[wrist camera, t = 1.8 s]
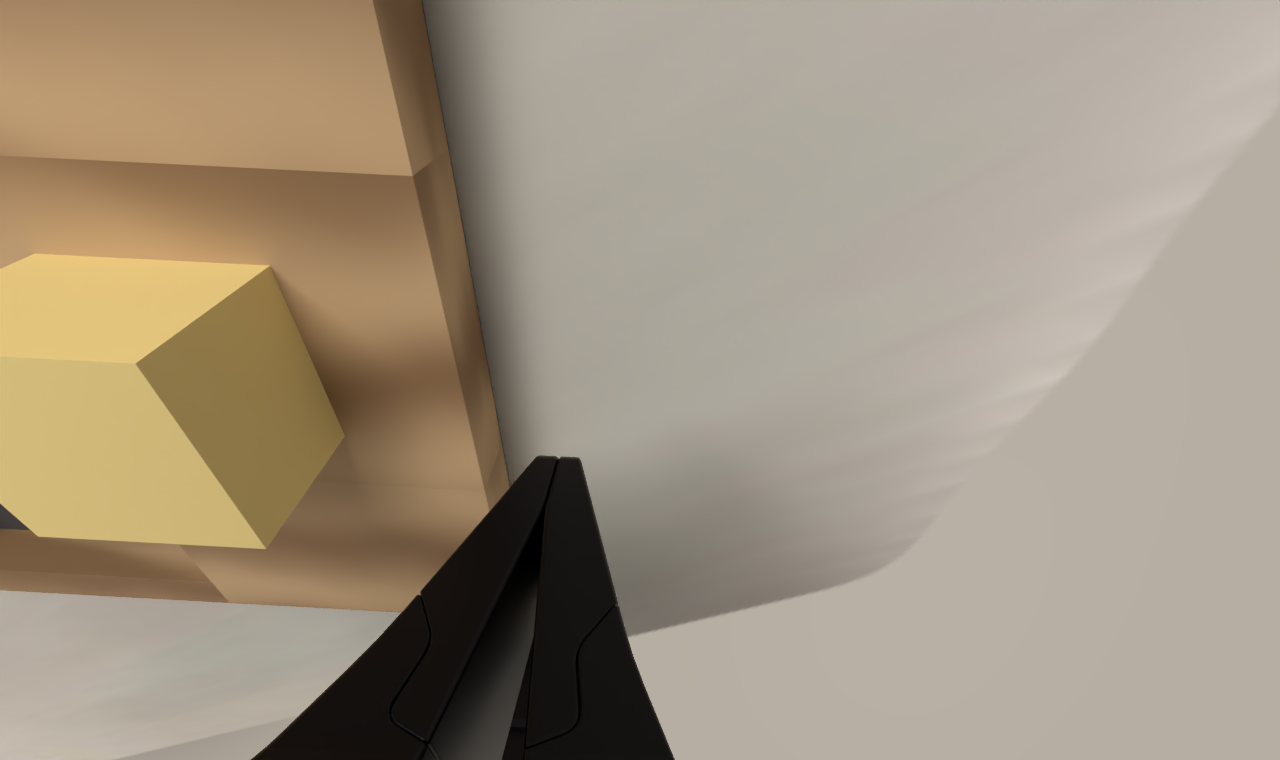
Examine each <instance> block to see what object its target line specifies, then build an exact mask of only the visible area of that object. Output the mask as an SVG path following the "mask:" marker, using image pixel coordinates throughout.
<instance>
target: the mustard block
mask: <svg viewBox="0 0 1280 760" xmlns="http://www.w3.org/2000/svg"><path fill="white" fill-rule="evenodd" d="M344 437H345V435H344V433H343V430H342V428H341V426H340V424H339V421H338V419H337V417H336V415H335V412H334V410H333V408H332V405H331V403H330V401H329V399H328V396H327V394H326V392H325V390H324V387H323V385H322V383H321V381H320V378H319V376H318V374H317V371H316V369H315V367H314V365H313V362H312V360H311V358H310V356H309V353H308V351H307V349H306V347H305V344H304V342H303V340H302V337H301V335H300V333H299V331H298V328H297V326H296V324H295V322H294V319H293V317H292V315H291V313H290V310H289V308H288V306H287V303H286V301H285V299H284V297H283V294H282V292H281V290H280V288H279V285H278V283H277V281H276V278H275V276H274V274H273V272H272V269H271V267H270V266H267V265H248V264H228V263H208V262H189V261H169V260H150V259H130V258H110V257H91V256H71V255H52V254H33V255H31V256H28V257H26V258H24V259H22V260H19V261H17V262H15V263H12V264H10V265H8V266H5V267H3V268H1V269H0V504H1V505H2V506H4V507H5V508H6V509H7V510H8V511H9V512H10V513H12V514H13V515H14V516H15V517H16V518H17V519H18V520H20V521H21V522H22V523H23V524H24V525H25V526H27V527H28V528H29V529H30V530H31V531H32V532H33V533H35V534H36V535H37V536H38V537H54V538H72V539H90V540H108V541H127V542H145V543H163V544H182V545H200V546H218V547H236V548H255V549H267V547H268V546H269V544H270V543H271V542H272V540H273V539H274V537H275V536H276V534H277V533H278V531H279V530H280V529H281V527H282V526H283V524H284V523H285V521H286V520H287V519H288V517H289V516H290V514H291V513H292V511H293V510H294V509H295V507H296V506H297V504H298V503H299V501H300V500H301V499H302V497H303V496H304V494H305V493H306V491H307V490H308V488H309V487H310V486H311V484H312V483H313V481H314V480H315V478H316V477H317V476H318V474H319V473H320V471H321V470H322V468H323V467H324V466H325V464H326V463H327V461H328V460H329V458H330V457H331V455H332V454H333V453H334V451H335V450H336V448H337V447H338V445H339V444H340V443H341V441H342V440H343V438H344Z"/></svg>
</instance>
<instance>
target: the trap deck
mask: <svg viewBox="0 0 1280 760" xmlns="http://www.w3.org/2000/svg"><path fill="white" fill-rule="evenodd" d="M33 254H52V255H71V256H91V257H110V258H130V259H150V260H169V261H189V262H208V263H228V264H248V265H267V266H270V267H271V269H272V272H273V274H274V276H275V278H276V281H277V283H278V285H279V288H280V290H281V292H282V294H283V297H284V299H285V301H286V303H287V306H288V308H289V310H290V313H291V315H292V317H293V319H294V322H295V324H296V326H297V328H298V331H299V333H300V335H301V337H302V340H303V342H304V344H305V347H306V349H307V351H308V353H309V356H310V358H311V360H312V362H313V365H314V367H315V369H316V371H317V374H318V376H319V378H320V381H321V383H322V385H323V387H324V390H325V392H326V394H327V396H328V399H329V401H330V403H331V405H332V408H333V410H334V412H335V415H336V417H337V419H338V421H339V424H340V426H341V428H342V430H343V433H344V435H345V437H344V438H343V440H342V441H341V443H340V444H339V445H338V447H337V448H336V450H335V451H334V453H333V454H332V455H331V457H330V458H329V460H328V461H327V463H326V464H325V466H324V467H323V468H322V470H321V471H320V473H319V474H318V476H317V477H316V478H315V480H314V481H313V483H312V484H311V486H310V487H309V488H308V490H307V491H306V493H305V494H304V496H303V497H302V499H301V500H300V501H299V503H298V504H297V506H296V507H295V509H294V510H293V511H292V513H291V514H290V516H289V517H288V519H287V520H286V521H285V523H284V524H283V526H282V527H281V529H280V530H279V531H278V533H277V534H276V536H275V537H274V539H273V540H272V542H271V543H270V544H269V546H268V547H267V549H255V548H236V547H218V546H200V545H182V544H163V543H145V542H127V541H108V540H90V539H72V538H54V537H38V536H37V535H36V534H35V533H33V532H32V531H31V530H30V529H29V528H28V527H27V526H25V525H24V524H23V523H22V522H21V521H20V520H18V519H17V518H16V517H15V516H14V515H13V514H12V513H10V512H9V511H8V510H7V509H6V508H5V507H4V506H2V505H1V504H0V590H7V591H25V592H43V593H61V594H79V595H98V596H116V597H134V598H152V599H170V600H188V601H206V602H224V603H242V604H260V605H278V606H296V607H314V608H332V609H350V610H368V611H386V612H403V610H404V609H405V608H406V607H407V606H408V605H409V603H410V602H411V601H412V600H413V599H414V598H415V596H416V595H420V591H421V590H422V589H423V588H424V586H425V585H426V584H427V583H428V582H429V581H430V579H431V578H432V577H433V576H434V575H435V574H436V572H437V571H438V570H439V569H440V568H441V567H442V566H443V564H444V563H445V562H446V561H447V560H448V559H449V557H450V556H451V555H452V554H453V553H454V552H455V550H456V549H457V548H458V547H459V546H460V545H461V544H462V542H463V541H464V540H465V539H466V538H467V537H468V535H469V534H470V533H471V532H472V531H473V530H474V529H475V527H476V526H477V525H478V524H479V523H480V522H481V520H482V519H483V518H484V517H485V516H486V515H487V513H488V512H489V511H490V510H491V509H492V508H493V507H494V505H495V504H496V503H497V502H498V501H499V500H500V498H501V497H502V496H503V495H504V494H505V493H506V491H507V490H508V489H509V488H510V486H509V480H508V475H507V469H506V464H505V458H504V453H503V447H502V442H501V436H500V431H499V425H498V420H497V414H496V409H495V403H494V397H493V392H492V386H491V381H490V375H489V370H488V364H487V359H486V353H485V348H484V342H483V337H482V331H481V326H480V320H479V315H478V309H477V304H476V298H475V293H474V287H473V282H472V276H471V271H470V265H469V260H468V254H467V249H466V243H465V238H464V232H463V227H462V221H461V216H460V210H459V205H458V199H457V194H456V188H455V183H454V177H453V172H452V166H451V160H450V155H449V149H448V144H447V138H446V133H445V127H444V122H443V116H442V111H441V105H440V100H439V94H438V89H437V83H436V78H435V72H434V67H433V61H432V56H431V50H430V45H429V39H428V34H427V28H426V23H425V17H424V12H423V6H422V1H421V0H0V269H1V268H3V267H5V266H8V265H10V264H12V263H15V262H17V261H19V260H22V259H24V258H26V257H28V256H31V255H33ZM420 596H421V595H420Z"/></svg>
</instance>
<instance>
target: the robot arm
mask: <svg viewBox="0 0 1280 760" xmlns="http://www.w3.org/2000/svg"><path fill="white" fill-rule="evenodd" d="M420 595H421V596H420ZM420 595H416V596H415V598H414V599H413V600H412V601H411V602H410V603H409V605H408V606H407V607H406V608H405V609H404V610H403V612H402V613H401V614H400V615H399V616H398V617H397V618H396V619H395V620H394V622H393V623H392V624H391V625H390V626H389V627H388V628H387V629H386V630H385V631H384V633H383V634H382V635H381V636H380V637H379V638H378V639H377V640H376V641H375V642H374V643H373V644H372V645H371V646H370V647H369V648H368V649H367V650H366V651H365V652H364V653H363V654H362V655H361V656H360V657H359V658H358V659H357V660H356V661H355V662H354V663H353V664H352V665H351V666H350V667H349V668H348V669H347V670H346V671H345V672H344V673H343V674H342V675H341V676H340V677H339V678H338V679H337V680H336V681H335V682H334V683H333V684H332V685H330V686H329V687H328V688H327V689H326V690H325V691H324V692H323V693H322V694H321V695H320V696H319V697H318V698H317V699H316V700H315V701H314V702H313V703H312V704H311V705H310V706H309V707H308V708H307V709H306V710H305V711H303V712H302V713H301V714H300V715H299V716H298V717H297V718H296V719H295V720H294V721H293V722H292V723H291V724H290V725H289V726H288V727H287V728H286V729H285V730H284V731H283V732H282V733H281V734H280V735H279V736H278V737H277V738H275V739H274V740H273V741H272V742H271V743H270V744H269V745H268V746H267V747H265V748H264V749H263V750H262V751H261V752H259V753H258V754H257V755H256V756H255V757H254V758H252V759H251V760H675V759H674V757H673V754H672V752H671V750H670V747H669V745H668V742H667V740H666V737H665V735H664V733H663V730H662V728H661V725H660V723H659V720H658V718H657V716H656V713H655V711H654V708H653V706H652V703H651V701H650V699H649V696H648V694H647V691H646V689H645V686H644V684H643V681H642V678H641V676H640V673H639V670H638V668H637V665H636V662H635V660H634V657H633V654H632V651H631V647H630V644H629V641H628V637H627V634H626V631H625V627H624V624H623V620H622V616H621V612H620V608H619V606H618V601H617V597H616V594H615V590H614V586H613V582H612V578H611V574H610V570H609V567H608V563H607V559H606V555H605V551H604V547H603V543H602V540H601V536H600V532H599V528H598V524H597V520H596V517H595V513H594V509H593V505H592V501H591V497H590V493H589V490H588V486H587V482H586V478H585V474H584V470H583V467H582V463H581V460H580V458H577V457H560V459H559V458H558V457H556V456H537V457H536V458H535V459H534V460H533V461H532V463H531V464H530V465H529V466H528V467H527V468H526V470H525V471H524V472H523V473H522V474H521V475H520V476H519V478H518V479H517V480H516V481H515V482H514V483H513V485H512V486H511V487H510V488H509V489H508V490H507V491H506V493H505V494H504V495H503V496H502V497H501V498H500V500H499V501H498V502H497V503H496V504H495V505H494V507H493V508H492V509H491V510H490V511H489V512H488V513H487V515H486V516H485V517H484V518H483V519H482V520H481V522H480V523H479V524H478V525H477V526H476V527H475V529H474V530H473V531H472V532H471V533H470V534H469V535H468V537H467V538H466V539H465V540H464V541H463V542H462V544H461V545H460V546H459V547H458V548H457V549H456V550H455V552H454V553H453V554H452V555H451V556H450V557H449V559H448V560H447V561H446V562H445V563H444V564H443V566H442V567H441V568H440V569H439V570H438V571H437V572H436V574H435V575H434V576H433V577H432V578H431V579H430V581H429V582H428V583H427V584H426V585H425V586H424V588H423V589H422V590H421V591H420Z"/></svg>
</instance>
